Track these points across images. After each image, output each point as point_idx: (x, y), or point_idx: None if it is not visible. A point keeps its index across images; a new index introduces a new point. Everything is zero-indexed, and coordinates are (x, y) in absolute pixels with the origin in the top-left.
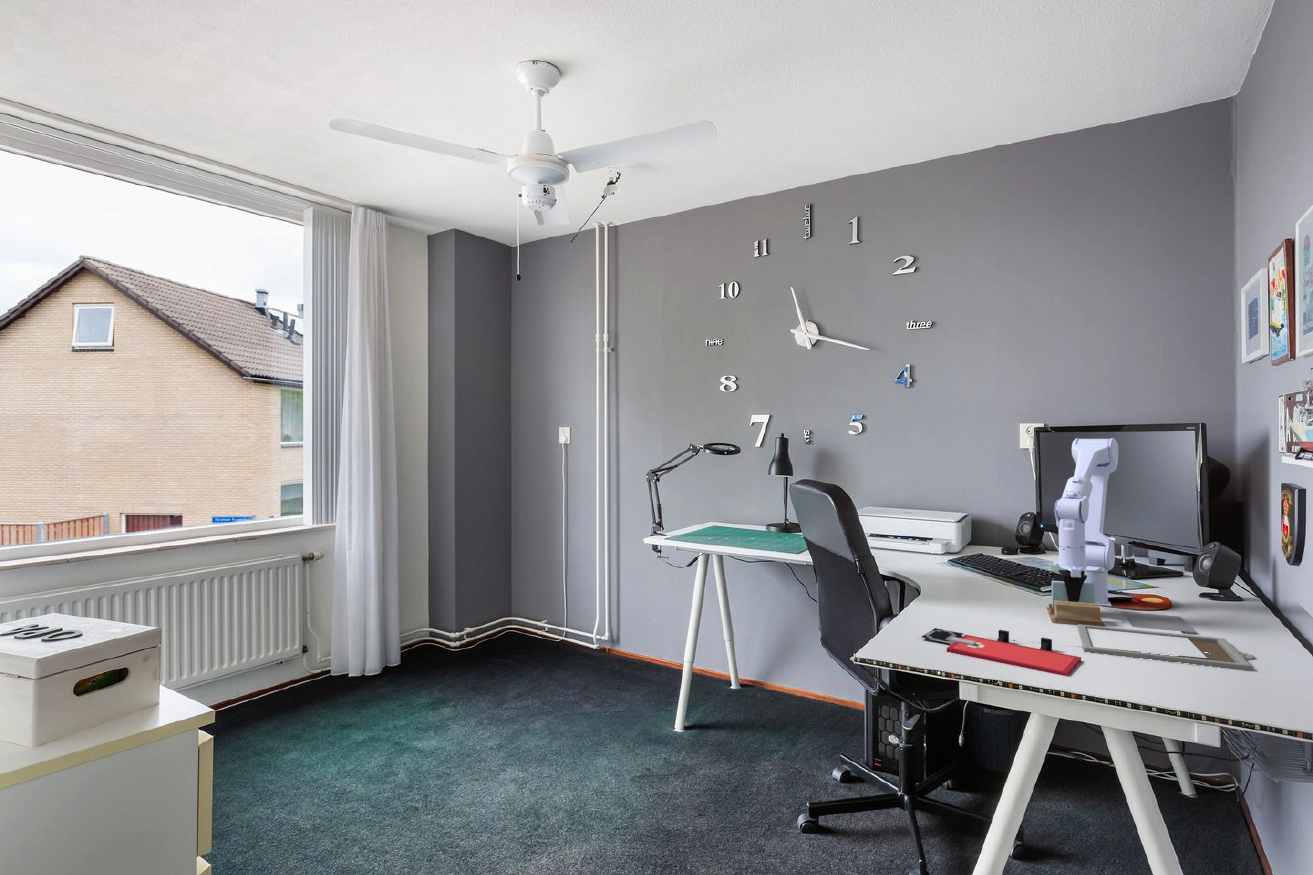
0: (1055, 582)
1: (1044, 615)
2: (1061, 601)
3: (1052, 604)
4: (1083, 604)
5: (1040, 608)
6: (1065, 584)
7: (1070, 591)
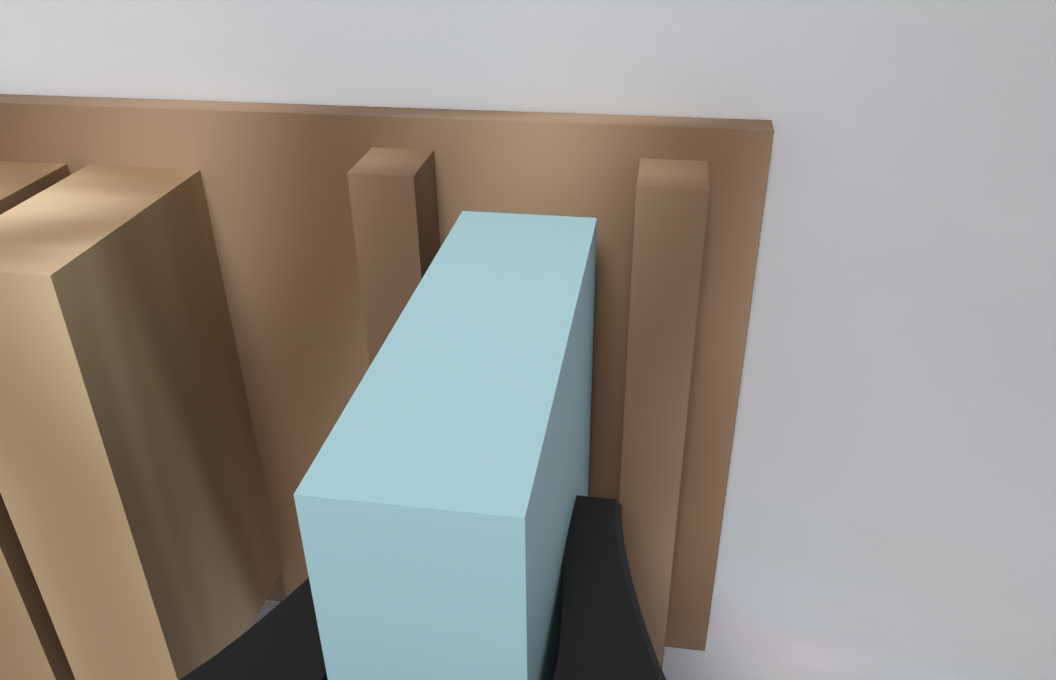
0: (308, 549)
1: (337, 42)
2: (37, 369)
3: (511, 230)
4: (41, 592)
5: (812, 28)
6: (187, 677)
7: None
